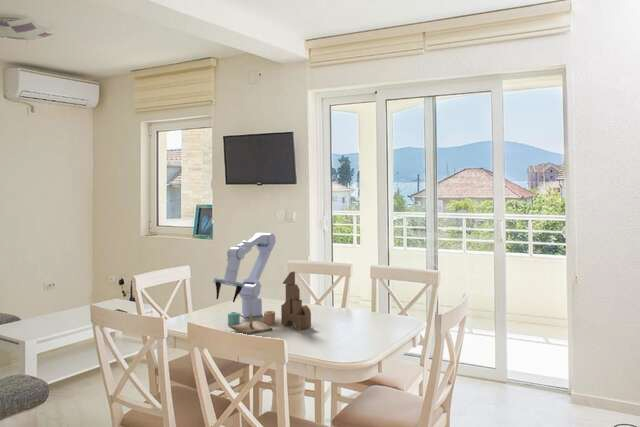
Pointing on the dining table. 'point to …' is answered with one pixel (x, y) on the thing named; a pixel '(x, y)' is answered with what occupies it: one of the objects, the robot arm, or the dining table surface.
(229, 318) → the teal bead
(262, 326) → the brown piece
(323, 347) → the dining table surface
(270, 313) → the terracotta bead
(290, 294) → the wooden toy
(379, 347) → the dining table surface
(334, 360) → the dining table surface
